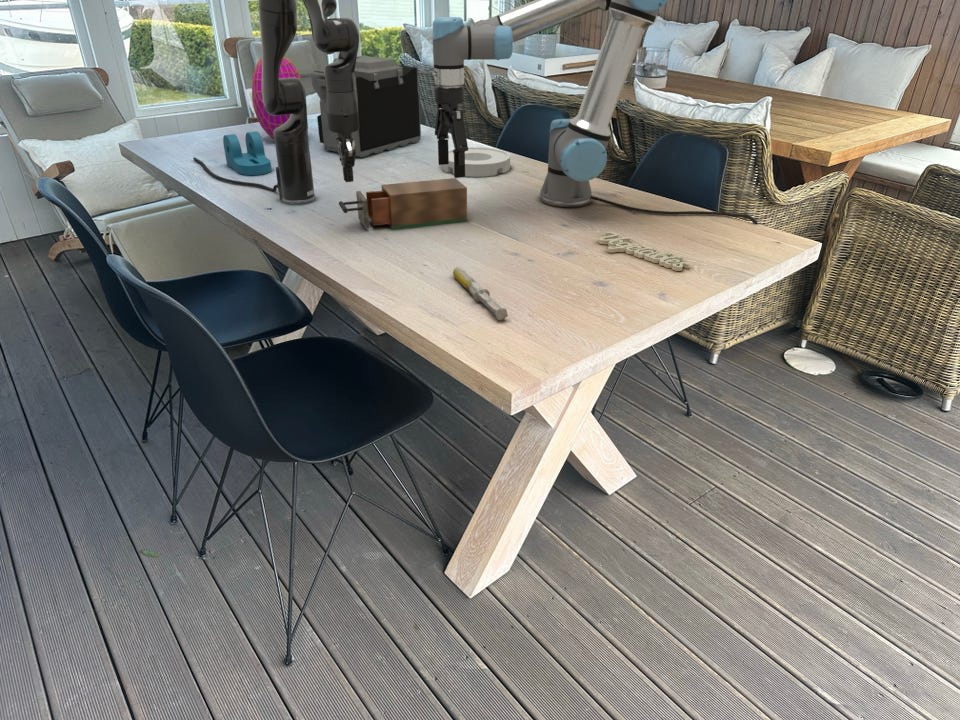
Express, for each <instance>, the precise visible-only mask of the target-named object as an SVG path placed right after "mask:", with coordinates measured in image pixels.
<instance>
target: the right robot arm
mask: <svg viewBox="0 0 960 720" xmlns="http://www.w3.org/2000/svg"><path fill="white" fill-rule="evenodd" d="M668 1H669V0H532V1H529V2H527V3H524V4H522V5H519V6H517V7H514V8H511V9H509V10H507V11H504V12H501V13H499V14H497V15H494V16H492V17H488V18H487V19H480V20H478V21H476V22H474V23H473V24H472V25H471V26H470V25H465V23H464V19H463V18H462V17H461V16H440V17H435V18H434V20H433V21H432V56H433V58H432V59H433V72H432V73H431V76H432V77H433V80H434V85H435V87H434V88H433V89H434V90H433V91H434V101H435V103H436V106H437V107H436V109H437V110H436V119H435V127H434V135H435V137H436V139H437V157H438V158H437V159H438V165H439V166H442V165H445V164H449V153H448V150H449V138H450V136H449V132H450V135H451V140H452V143H453V147H454V148H453V149H454V150H453V153H454V174H453V176H454V177H453V178H456V179H459V178H466V176H465V151H468V147H469V146H468V145H469V144H468V139H467V133H466V127H465V119H464V110H463V109H459V105H460V104H463V103H464V102H465V87H464V84H465V61H472V60H473V61H475V60H477V61H478V60H480V61H481V60H486V61H487V60H489V61H490V60H495V61H500V60H508V59H510V58H511V57H512V56H513V49H514V43H515V42H518V41H520V40H523V39H526V38H528V37H531V36H533V35H536V34H538V33H541V32H543V31H546V30H549V29H551V28H554V27H556V26H559V25H561V24H564V23H567V22H570V21H572V20H574V19H577V18H579V17H582V16H585V15H588V14H590V13H592V12H595V11H598V10H599V11H601V12H603V13H604V12H606V11H609V13H610V17H611V20H610V21H609V25H608V28H607V30H606V33H605V35H604V36H605V37H604V39H603V42H602V45H601V47H600V50H599V52H598V55H597V59H596V62H595V64H594V68H593V71H592V73H591V76H590V79H589V82H588V84H587V87H586V90H585V94H584V95H583V99H582V101H581V104H580V107H579V110H578V112H577V115H576V116H574V117H573V118H558V119H553V120H552V121H551V123H550V127H549V128H550V129H549V131H548V132H549V144H548V159H547V173H546V176H545V178H544V181H543V184H542V187H541V189H540V192H539V200H540V202H542V203H543V204H546V205H549V206H553V207H558V208H559V207H560V208H580V207H584V206H588V205H589V204H591V203H592V200H593V201H598V202H601V203H604V204H608V205H610V206H615V207H619V208H621V209H625V210H630V211H633V212H641V213H646V214H654V215H671V216H672V215H674V216H675V215H677V216H678V215H708V216H709V215H713V216H723V217H732V218H745V219H748V220H749V221H751V222H752V224H754V225H756V226H757V225H758V226H759V223H758V221H757V220H756V219H755V218H754V217H753V216H751V215H749V214H745V213H731V212H723V211H703V210H702V211H701V210H694V211H693V210H687V211H686V210H685V211H683V210H682V211H670V210H669V211H667V210H654V209H645V208H640V207H639V208H638V207H634V206H629V205H625V204H621V203H618V202H614V201H611V200H607V199H605V198H601V197H597V196H593V193H592V188H591V184H590V181H591V180H594V179H596V178H597V177H598V176H599V175H600V174H601V173H602V172H603V171H604V169H605V167H606V166H607V161H608V153H607V147H608V145H609V141H610V139H611V137H612V133H611V130H610V128H609V127H610V126H609V125H610V123H611V121H612V117H613V115H614V112H615V111H616V107H617V105H618V102H619V100H620V97H621V94H622V92H623V89H624V86H625V83H626V81H627V78H628V75H629V73H630V70H631V67H632V64H633V63H634V60H635V56H636V54H637V52H638V49H639V46H640V43H641V41H642V38H643V35H644V33H645V30H647V28H649V27H651V26H653V25H654V24H655V22H656V18H657V16H658V13H659V12H660V9H661V8H662V7H663V6H664V5H666V3H667V2H668Z"/></svg>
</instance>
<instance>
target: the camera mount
mask: <svg viewBox="0 0 960 720" xmlns="http://www.w3.org/2000/svg"><path fill="white" fill-rule="evenodd" d="M222 140H223V141H222V143H223V149H224V150H223V151H224V156H225V161H226V165H227V166H228V167H230V168H231V169H232V170H234V171H236V172H237V173H238V174H239V175H244V176H260V175H265V174H268V173H271V172H272V164H271V159H270V158H268V157H267V156H266V153H265V145H264V141H263V139H262V136H261V134H260V132H258V131H247V132H246V133H245V146H246V152H243V151H242V150H243V149H242V146H241V142H240V140H239V138H238V135H236V134H235V133H231V134H224V135H223V138H222Z"/></svg>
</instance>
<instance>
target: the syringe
mask: <svg viewBox="0 0 960 720" xmlns="http://www.w3.org/2000/svg"><path fill="white" fill-rule="evenodd" d="M452 274H453V277H454V279H455V280H457V281H458V282H459V283H460V285H462V287H464V289H466V290H467V291H468V293H470V295H471V296H472V298H473V300H474V302H477V303H478V302H480V303H482V304H483V305H484V306H485V307H486V308H487V309H488V310H489V311H490V312H491V313H492V314H493V315H494V316H495V317H496V320H497V321H503V320H504V319H506V318H507V317H509V314H508V310H507V308H506V307H502V306H501V305H500V303H498V302H497V301H496V300H494V299H493V298H492V297H491V296H490V295H491V293H490V290H488V289H486V288H483V287H482V286H481V285H480V284H479V283H478V282H477V281H476V280H474V278H473V277H471V275H469V274H468V273H467V272H466V270H465V269H464V268H463V267H462V266H456V267H454V268H453V271H452Z"/></svg>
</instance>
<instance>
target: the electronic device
mask: <svg viewBox="0 0 960 720" xmlns="http://www.w3.org/2000/svg"><path fill="white" fill-rule="evenodd" d="M354 74H355V88H356V95H357V100H358V112H359V126H360V128H359V130H358V131H356V132H352V133H351V135H352V139H354V141H355V146H354V149H355V150H356V154H355V157H357V158H362V159H363V158H366V157H367V158H368V157H369V155H371V154H375V155H377V154H381V153H382V152H383V151H391V150H395V149H396V148H397V147H405V146H407V145H408V144H416V143H418V142H419V141H421V137H422V128H421V97H420V92H419V91H420V89H419V68H418V67H417V66H408V65H400V64H396V62H395V60H394V59H393V58H385V57H377V56H367V55H357V59H356V65H355V72H354ZM310 79H311V87H313V90H314V91H315V93H316V94H317V96H318V98H319V110H320V111H319V112H320V114H319V115H317V116H316V119H317V128H318V138H319V143H320V144H323V146H324V149H325V150H327V151H330V152H335V153H338V147H337V143H336V138H338V133H334V132H331V131H330V130H329V127H328V117H327V107H326V86H325V75H324V71H320V70H314V71H313V70H312V71H310Z"/></svg>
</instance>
